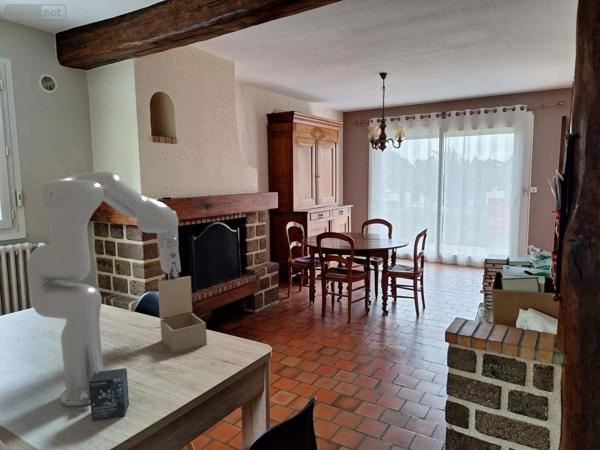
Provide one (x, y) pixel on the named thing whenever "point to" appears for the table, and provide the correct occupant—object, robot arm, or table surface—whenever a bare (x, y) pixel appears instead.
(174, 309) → the door
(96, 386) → the box
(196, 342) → the tan open container
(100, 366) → the robot arm
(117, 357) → the table surface
